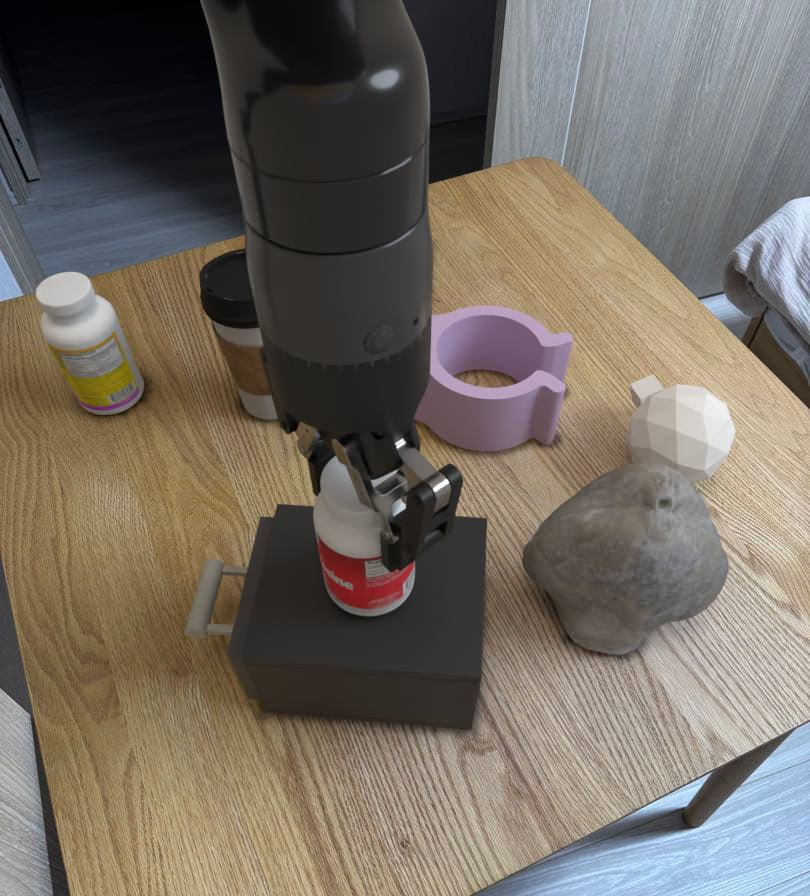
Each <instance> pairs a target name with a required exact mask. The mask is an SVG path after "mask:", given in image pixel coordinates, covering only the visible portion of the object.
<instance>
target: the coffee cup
mask: <svg viewBox="0 0 810 896" xmlns="http://www.w3.org/2000/svg"><path fill="white" fill-rule="evenodd" d="M198 279H199V280H198V281H199V288H200V293H199V299H200V303H201V307H202V310H203V311H204V313H205V315H206V316H207V317H208V318H209V319H210V320H211V327H212V330H213V333H214V336H215V338H216V340H217V343H218V345H219V347H220V350H221V353H222V355H223V357H224V360H225V362H226V365H227V367H228V369H229V373H230V374H231V377H232V379H233V382H234V383H235V387H236V390H237V391H238V395H239V397H240V399H241V403H242V405H243V407H244V409H245V411H246V412H247V413H248V414H250V415H251V416H253V417H254V418H257V419H260V420H264V421H276V420H278V418H277V414H276V410H275V407H274V403H273V400H272V396H271V393H270V389H269V386H268V382H267V379H266V375H265V371H264V368H263V364H262V361H261V357H260V354H259V349H260V348H261V347H263V342H262V337H261V332H260V328H259V323H258V318H257V312H256V308H255V303H254V299H253V294H252V289H251V285H250V280H249V275H248V269H247V262H246V252H245V247H243V248H238V249H234V250H231V251H227V252H225V253H222V254H220V255H217V256H216V257H214V258H212V259H210V260H209V261H208V262H206V263H205V264H204V265H203V266H202V268H201V269H200V270H199V274H198Z"/></svg>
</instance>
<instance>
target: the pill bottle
mask: <svg viewBox="0 0 810 896" xmlns="http://www.w3.org/2000/svg"><path fill="white" fill-rule="evenodd" d="M397 471H398V470H396V471H394V472H391V473H389V474H387V475H385V476H383V477H381V478H379V479H376V480H371V482H372V484H373V487H376V486H377V485H379V484H380V483H382V482H383V481H385V480H386V479H388V478H389V477H391V476H393V475H394V474H395V473H396V472H397ZM320 485H321V491H320V493H319V494H318V496H316V499H315V501H314V504H313V506H314V510H313V519H314V527H315V533H316V538H317V544H318V549H319V555H320V560H321V566H322V571H323V576H324V581H325V585H326V588H327V591H328V593H329V595H330V597H331V598H332V599H333V601H334V602H335V603H336V604H337V605H338V606H340V607H341V608H342V609H344V610H345V611H347V612H349V613H352V614H355V615H360V616H377V615H382V614H385V613H388V612H390V611H392V610H394V609H396V608H397V607H399V606H400V605H401V604H402V603H403V602H404V601H405V600H406V599H407V597H408V596H409V594H410V592H411V590H412V588H413V584H414V579H415V561H414V562H413V563H411V564H410V565H408V566H407V567H406V568H404V569H403V570H401V571H399V570H398V569H397V570H396V571H394V572H389V571H388V570H387V569H386V568H385V567H384V566H383V565H382V560H381V543H380V531H381V530H380V528H379V525H378V522H377V520H376V517H375V515H374V512H373V511H372V510H370V509H369V508H367V507H365V506H363V505H362V504H361V503H360V501H359V498H358V496H357V494H356V491H355V489H354V486H353V484H352V481H351V479H350V476H349V474H348V471H347V469H346V466H345V465H343V464H341V463H340V462H339V461H338V459H337V456H335V457H334V458H332V459H331V460H330V461H329V462H328V463H327V465H326V466H325V468H324V469H323V472H322V474H321V480H320ZM405 508H406V504H404V503H403V502H402V500H401V498H400V499H399V500H397V501H396V502H394V503H393V504H392V506H391V512H392V514H393V517H394V516H395V515H396V514H398V513H399V512H401V511H402V510H404V509H405Z"/></svg>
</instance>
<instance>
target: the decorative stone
mask: <svg viewBox="0 0 810 896" xmlns="http://www.w3.org/2000/svg"><path fill="white" fill-rule="evenodd" d="M715 525H716V524H714V522H713V520H712V518H711V513H710V510H709V507H708V506H707V504H706V502H705V501H704V499H703V498H702V496H701V495H700V492H699V490H698V489H697V488H696V486H695V485H694V483H692V482H691V481H690V480H689V479H687V478H686V477H685V476H684V474H682V473H680V472H679V471H677V470H676V469H674V468H672V467H669V466H666V465H662V464H656V463H637V464H633V463H632V464H628V465H624V466H622V467H618V468H614V469H613V470H610V471H608V472H604V473H602V474H601V475H599V476H597V477H595V478H594V479H593V480H590V481H589V482H588V483H587V484H585V485H584V486H582V487H581V488H580V489H579V490H578V491H577V492H576V493H575V494H574V495H573V496H572V495H571V497H569V498H567V500H565V501H564V502H563V503H561V504H560V505H559V506H557V508H556V509H554V510H553V511H552V512H551V513H550V514H549V515H548V517H546V518H545V519H544V520H543V521H542V522H541V523H540V524H539V526H538V529H537V530H536V531H535V533H533V536H532V538H531V539H530V540H529V541H528V542H527V543H526V544H525V545H524V547H523V549H522V561H521V563H522V567H523V571H524V572H525V574H526V575H527V576H528V578H529V579H530V580H531V581H532V582H533V583H535V584H537V585H539V586H540V587H541V588H543V589H544V590H546V591H547V592H548V593H549V595H550V597H551V599H552V601H553V603H554V605H555V608H556V611H557V616H558V619H559V622H560V624H561V627H563V630H564V631H565V633H566V634H567V635H568V636H569V638H570V639H571V640H572V642H573V643H575V644H576V645H578V646H580V647H581V648H583V649H586V650H588V651H589V650H590V651H595V652H600V653H604V654H606V655H609V656H622V655H626V654H628V653H630V652H632V651H634V650H636V649H638V647H639V646H640V644H641V643H642V640H645V639H646V638H647V637H649V636H650V635H651V634H653V632H654V631H655V630H656V629H657V628H659V627H661V626H663V625H666V624H668V623H672V622H673V623H674V622H675V623H676V622H683V621H687V620H690V619H692V618H694V617H696V616H698V615H699V614H701V613H702V612H704V611H705V610H707V609H708V608H709V607H710V605H712V604H713V603H715V601H716V600H717V598H718V596H719V595H720V593H721V591H722V590H723V588H724V586H725V584H726V581H727V578H728V574H729V571H730V567H729V565H730V564H729V560H728V557H727V553H726V551H725V549H724V547H723V546H722V542H721V538H720V534H719V532H718V529H717V526H715Z"/></svg>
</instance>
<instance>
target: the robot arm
mask: <svg viewBox="0 0 810 896" xmlns="http://www.w3.org/2000/svg"><path fill="white" fill-rule="evenodd" d="M200 4H201V8H202V11H203V14H204V17H205V20H206V24H207V27H208V30H209V35H210V40H211V46H212V49H213V55H214V59H215V65H216V70H217V77H218V82H219V88H220V95H221V98H220V99H221V106H222V114H223V119H224V126H225V133H226V138H227V144H228V147H229V152H230V158H231V162H232V168H233V172H234V177H235V182H236V186H237V193H238V197H239V201H240V207H241V212H242V213H241V214H242V219H243V233H244V248H245V252H246V262H247V269H248V275H249V280H250V285H251V289H252V294H253V299H254V303H255V308H256V312H257V318H258V323H259V328H260V332H261V337H262V342H263V347H261V348H260V349H259V354H260V357H261V361H262V364H263V368H264V371H265V375H266V379H267V382H268V386H269V389H270V393H271V396H272V400H273V403H274V407H275V410H276V414H277V418H278V419H277V421H278V424H279V428H280V429H281V430H282V431H283V432H285V433H286V434H287V435H291V434H292V433H295V435H296V436H297V441H296V446H297V449H298V452H299V454H300V455H301V456H303V457H304V458H305V459H306V460H307V465H308V471H309V476H310V482H311V488H312V493H313V494H314V496H315V497H317V496H318V494H319V493H320V491H321V485H320V480H321V474H322V472H323V469H324V468H325V466H326V465H327V463H328V462H329V461H330V460H331V459H332V458H334V457H335V456H337V459H338V461H339V462H340V463H341V464H343V465H345V466H346V469H347V471H348V474H349V476H350V479H351V481H352V484H353V486H354V489H355V491H356V494H357V496H358V498H359V501H360V503H361V504H362V505H363V506H365V507H367V508H369V509H370V510H372V511H373V512H374V515H375V517H376V520H377V522H378V525H379V528H380V530H381V531H380V543H381V560H382V565H383V566H384V567H385V568H386V569H387V570H388V571H389V572H394V571H396V570H397V569H398V570H399V571H401V570H403V569H404V568H406V567H407V566H408V565H410V564H411V563H413V562H414V561H415V560H417V559H418V558H419V557H420V556H421V554H422V553H424V552H425V551H427V550H428V549H429V548H431V547H432V546H434V545H435V544H436V543H438V542H439V541H441V540H442V539H444V538H445V537H446V536H448V535H449V534H450V533H451V530H452V526H453V522H454V518H455V516H456V513H457V510H458V505H459V502H460V497H461V493H462V489H463V486H464V478H463V475H462V473H461V471H460V470H459V468H458V467H457V466H455V464H453V463H447V464H446V465H444V466H442V467H441V468H440V469H436V468H435V466H434V465H433V464H432V463H430V461H429V460H428V459H427V458H426V457H425V456H424V455H423V454H422V453H421V452H420V451H421V447H422V446H421V438H420V435H419V432H418V429H417V426H416V423H415V420H414V416H415V413H416V411H417V408H418V406H419V404H420V402H421V400H422V398H423V396H424V394H425V391H426V389H427V386H428V383H429V378H430V358H431V322H432V315H433V287H434V286H433V285H434V283H433V282H434V248H433V247H434V245H433V237H432V235H433V234H432V228H431V220H430V212H429V188H430V187H429V183H430V182H429V180H430V138H431V137H430V135H431V133H430V125H431V102H430V101H431V100H430V98H431V97H430V96H431V95H430V83H429V73H428V65H427V61H426V57H425V53H424V49H423V46H422V44H421V41H420V39H419V36H418V33H417V32H416V30H415V28H414V27H415V26H414V25H413V23H412V21H411V19H410V16H409V15H408V12H407V10H406V8H405V4H404V3H403V0H200ZM396 470H398V471H397V472H396V473H395V474H394V475H393V476H391V477H389V478H388V479H386V480H385V481H383V482H382V483H380V484H379V485H377V486H376V487H373V484H372V482H371V480H376V479H379V478H381V477H383V476H385V475H387V474H389V473H391V472H394V471H396ZM400 498H401V500H402V502H403V503H404V504H406V508H405V509H404V510H402V511H401V512H399V513H398V514H396V515H395V516H394V517H393V514H392V512H391V506H392V504H393V503H394V502H396V501H397V500H399V499H400Z"/></svg>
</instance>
